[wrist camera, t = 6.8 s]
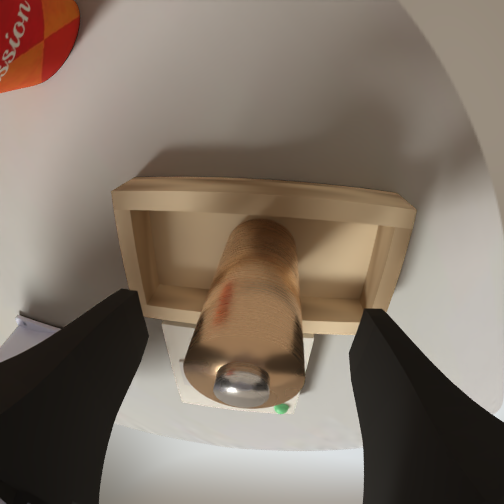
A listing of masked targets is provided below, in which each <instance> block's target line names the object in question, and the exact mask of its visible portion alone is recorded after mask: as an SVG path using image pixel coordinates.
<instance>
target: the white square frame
mask: <svg viewBox="0 0 504 504" xmlns="http://www.w3.org/2000/svg"><path fill="white" fill-rule="evenodd" d="M161 325H162V329H163V334H164V338H165V342H166V346H167V350H168V354H169V358H170V362H171V366H172V369H173V373H174V377H175V380H176V384H177V387H178V391H179V394H180V398H181V401H182V402H184V403H189V404H195V405H202V406H208V407H215V408H223V409H231V410H240V411H250V412H263V413H278V414H294V410H295V407H296V404H297V400H298V397H299V393H300V392H299V393H298V394H297V395H296V396H294V397H293V398H292V399H290V400H288V401H287V402H284V403H282V404H279V405H276V406H272V407H268V408H259V409H246V408H237V407H232V406H227V405H224V404H221V403H218V402H215V401H213V400H211V399H209V398H207V397H206V396H204V395H202V394H201V393H199V392H198V391H197V390H196V389H195V388H194V387H193V386H192V385H191V384H190V383H189V381H188V380H187V378H186V376H185V373H184V369H183V363H184V359H185V356H186V353H187V350H188V348H189V345H190V342H191V339H192V336H193V333H194V330H195V328H196V325H197V324H192V323H184V322H176V321H169V320H163V321H162V323H161ZM313 341H314V334H310V333H303V342H304V361H305V372H306V368H307V365H308V361H309V357H310V353H311V349H312V345H313Z"/></svg>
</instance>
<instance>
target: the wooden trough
mask: <svg viewBox="0 0 504 504" xmlns="http://www.w3.org/2000/svg"><path fill="white" fill-rule="evenodd" d="M111 194H112V201H113V208H114V215H115V221H116V228H117V233H118V239H119V244H120V250H121V255H122V260H123V264H124V269H125V274H126V278H127V282H128V287H129V290H135V291H138V295H139V299H140V304H141V308H142V312H143V316H144V317H149V318H156V319H162V320H169V321H176V322H184V323H192V324H197V322H198V319H199V316H200V313H201V311H202V308H203V305H204V302H205V299H206V297H207V294H208V291H209V288H210V286H211V283H212V280H213V278H214V275H215V272H216V269H217V267H218V264H219V261H220V259H221V256H222V253H223V251H224V248H225V245H226V243H227V240H228V237H229V235H230V234H231V232H232V231H233V230H234V229H235V228H236V227H237V226H238V225H240V224H241V223H243V222H245V221H248V220H252V219H268V220H272V221H275V222H277V223H279V224H281V225H282V226H284V227H285V228H286V229H287V230H288V231H289V232H290V233H291V235H292V237H293V238H294V241H295V244H296V251H297V262H298V273H299V285H300V298H301V311H302V326H303V333H310V334H340V335H356V332H357V329H358V326H359V323H360V320H361V317H362V314H363V311H364V308H374V309H383V310H384V311H385V312H387V309H388V306H389V304H390V301H391V298H392V295H393V292H394V289H395V286H396V283H397V280H398V277H399V274H400V271H401V268H402V265H403V261H404V258H405V255H406V251H407V247H408V244H409V240H410V236H411V233H412V229H413V225H414V221H415V216H416V212H417V210H416V209H415V208H414V207H413V206H412V205H410V204H409V203H408V202H407V201H406V200H405V199H404V198H402V197H401V196H400V195H399V194H398V193H393V192H386V191H379V190H371V189H364V188H356V187H347V186H338V185H328V184H318V183H307V182H295V181H282V180H266V179H248V178H223V177H135V178H133V179H131V180H129V181H128V182H126V183H124V184H122V185H121V186H119V187H117V188H116V189H114V190H112V191H111Z"/></svg>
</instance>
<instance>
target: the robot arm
mask: <svg viewBox="0 0 504 504" xmlns="http://www.w3.org/2000/svg"><path fill="white" fill-rule="evenodd" d="M15 319H16V322H17V323H18V325H19V326H18V327H17V328H16V329H15V330H14V331H13V333H12V334H11V335H10V336H9V338H8V339H7V340H6V341H5V342H4V344H3V345H2V346H1V348H0V504H99V491H100V483H101V476H102V469H103V464H104V459H105V455H106V450H107V446H108V442H109V438H110V435H111V431H112V427H113V424H114V421H115V418H116V416H117V413H118V411H119V408H120V406H121V404H122V402H123V399H124V397H125V395H126V393H127V391H128V388H129V386H130V384H131V382H132V380H133V378H134V375H135V373H136V371H137V369H138V367H139V364H140V362H141V359H142V356H143V353H144V350H145V347H146V344H147V340H148V337H149V335H148V331H147V327H146V324H145V320H144V316H143V312H142V308H141V304H140V299H139V295H138V291H135V290H128V289H120V290H119V291H117V292H115V293H114V294H112V295H111V296H109V297H108V298H106V299H105V300H103V301H102V302H100V303H99V304H97V305H96V306H95V307H93V308H92V309H90V310H89V311H87V312H86V313H84V314H83V315H82V316H80V317H79V318H77V319H76V320H74V321H73V322H71V323H70V324H68V325H67V326H65V327H64V328H62V329H60V328H56V327H53V326H50V325H47V324H44V323H40V322H37V321H34V320H31V319H29V318H26V317H23V316H20V315H17V316H16V317H15ZM349 360H350V372H351V382H352V387H353V392H354V397H355V402H356V407H357V412H358V417H359V423H360V428H361V434H362V440H363V449H364V496H363V504H504V422H502V421H501V420H499V419H498V418H496V417H495V416H493V415H492V414H490V413H489V412H488V411H486V410H485V409H484V408H482V407H481V406H480V405H478V404H477V403H476V402H474V401H473V400H472V399H471V398H469V397H468V396H467V395H466V394H465V393H464V392H462V391H461V390H460V389H459V388H458V387H457V386H456V385H454V384H453V383H452V382H451V381H450V380H449V379H448V378H447V377H446V376H445V375H444V374H443V373H442V372H441V371H440V370H439V369H438V368H437V367H436V366H435V365H434V364H433V363H432V362H431V361H430V360H429V359H428V358H427V357H426V356H425V355H424V354H423V352H422V351H421V350H420V349H419V348H418V347H417V346H416V345H415V344H414V343H413V342H412V340H411V339H410V338H409V337H408V336H407V335H406V334H405V333H404V332H403V331H402V329H401V328H400V327H399V326H398V325H397V324H396V323H395V322H394V321H393V320H392V318H391V317H390V316H389V315H388V314H387V313H386V312H385V311H384V310H383V309H374V308H364V311H363V314H362V317H361V320H360V323H359V326H358V329H357V332H356V335H355V338H354V341H353V343H352V346H351V349H350V351H349Z"/></svg>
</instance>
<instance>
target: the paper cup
mask: <svg viewBox="0 0 504 504" xmlns="http://www.w3.org/2000/svg"><path fill="white" fill-rule="evenodd" d="M79 25H80V12H79V8H78V5H77V4H76V2H75V1H74V0H0V93H3V92H7V91H12V90H16V89H20V88H25V87H30V86H34V85H37V84H40V83H43V82H45V81H46V80H48V79H49V78H50V77H52V76H53V75H54V74H55V73H56V72H57V71H58V70H59V68H60V67H61V66H62V65H63V63H64V62H65V60H66V59H67V57H68V55H69V54H70V52H71V50H72V48H73V45H74V43H75V40H76V38H77V34H78V30H79Z"/></svg>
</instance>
